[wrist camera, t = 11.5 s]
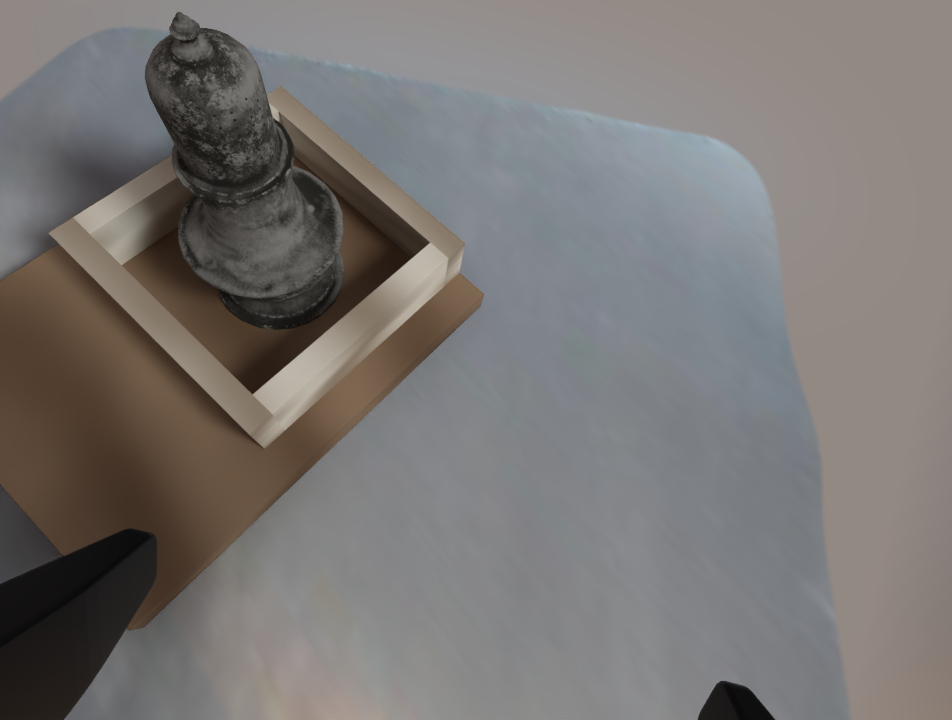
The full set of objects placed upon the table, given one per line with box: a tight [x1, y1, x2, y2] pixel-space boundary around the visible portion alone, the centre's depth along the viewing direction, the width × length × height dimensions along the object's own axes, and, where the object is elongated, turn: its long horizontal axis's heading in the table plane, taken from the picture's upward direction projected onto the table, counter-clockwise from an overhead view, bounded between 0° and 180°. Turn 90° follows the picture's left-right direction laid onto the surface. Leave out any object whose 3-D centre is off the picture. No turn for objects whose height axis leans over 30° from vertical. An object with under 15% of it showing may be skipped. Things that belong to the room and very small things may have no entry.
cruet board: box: [0, 87, 484, 630], centre depth 22 cm, size 18×14×4 cm
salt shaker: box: [145, 12, 344, 330], centre depth 18 cm, size 6×6×12 cm
